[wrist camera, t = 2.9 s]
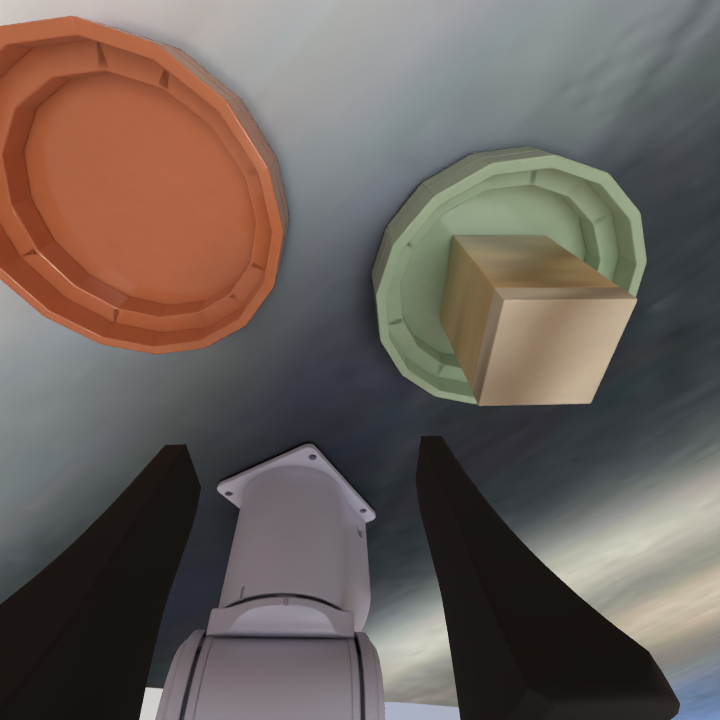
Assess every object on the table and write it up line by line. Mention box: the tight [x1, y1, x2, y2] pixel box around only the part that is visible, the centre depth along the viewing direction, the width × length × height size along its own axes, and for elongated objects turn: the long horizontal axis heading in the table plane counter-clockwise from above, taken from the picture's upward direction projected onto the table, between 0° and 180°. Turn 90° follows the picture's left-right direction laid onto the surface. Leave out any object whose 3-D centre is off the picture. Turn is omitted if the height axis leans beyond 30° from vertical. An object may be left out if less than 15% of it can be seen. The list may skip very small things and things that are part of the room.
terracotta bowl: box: [0, 16, 289, 354], centre depth 16 cm, size 12×12×3 cm
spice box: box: [440, 235, 637, 406], centre depth 17 cm, size 5×5×7 cm
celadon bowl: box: [371, 146, 647, 404], centre depth 19 cm, size 12×12×3 cm
